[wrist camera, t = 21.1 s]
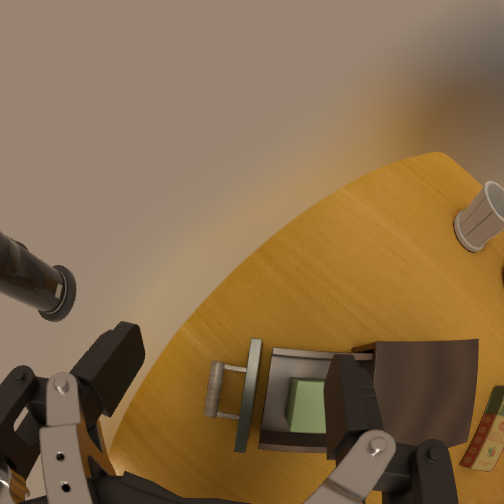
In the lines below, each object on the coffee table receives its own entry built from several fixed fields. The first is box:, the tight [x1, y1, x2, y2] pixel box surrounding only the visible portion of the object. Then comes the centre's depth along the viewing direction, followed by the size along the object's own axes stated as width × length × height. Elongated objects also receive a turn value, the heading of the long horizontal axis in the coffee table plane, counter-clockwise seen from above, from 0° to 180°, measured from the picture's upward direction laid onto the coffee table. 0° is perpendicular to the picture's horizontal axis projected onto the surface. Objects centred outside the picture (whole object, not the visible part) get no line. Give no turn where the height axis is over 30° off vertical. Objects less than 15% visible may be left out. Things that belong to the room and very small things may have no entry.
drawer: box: [204, 338, 374, 453], centre depth 29 cm, size 20×13×8 cm
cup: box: [454, 181, 504, 252], centre depth 36 cm, size 10×9×12 cm
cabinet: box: [352, 339, 479, 448], centre depth 27 cm, size 17×15×10 cm
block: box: [285, 377, 326, 433], centre depth 27 cm, size 4×6×9 cm
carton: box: [460, 386, 504, 472], centre depth 23 cm, size 8×16×4 cm, turn 148°
